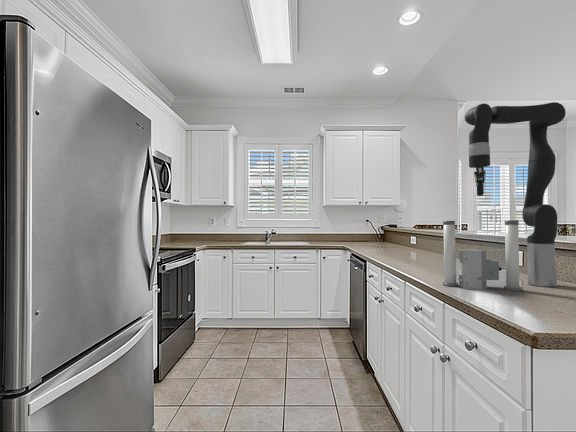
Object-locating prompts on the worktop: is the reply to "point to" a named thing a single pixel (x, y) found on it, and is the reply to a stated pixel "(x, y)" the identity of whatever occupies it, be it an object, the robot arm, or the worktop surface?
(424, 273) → the worktop surface
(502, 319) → the worktop surface
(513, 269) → the post
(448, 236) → the post
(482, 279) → the circuit breaker
